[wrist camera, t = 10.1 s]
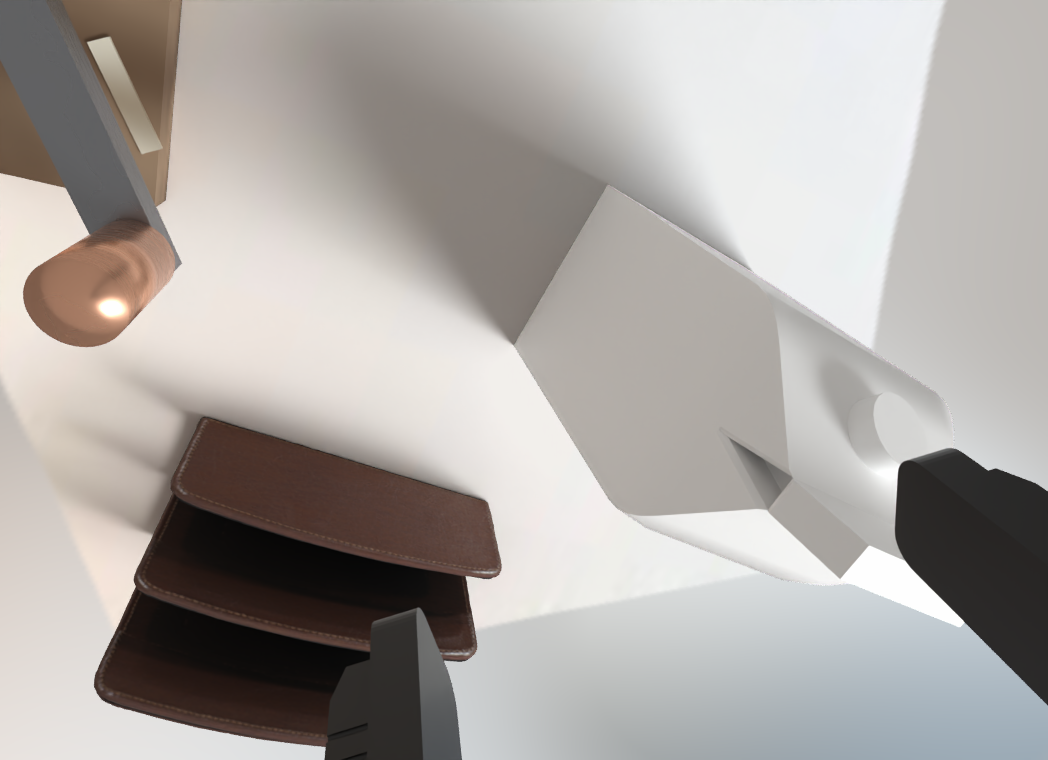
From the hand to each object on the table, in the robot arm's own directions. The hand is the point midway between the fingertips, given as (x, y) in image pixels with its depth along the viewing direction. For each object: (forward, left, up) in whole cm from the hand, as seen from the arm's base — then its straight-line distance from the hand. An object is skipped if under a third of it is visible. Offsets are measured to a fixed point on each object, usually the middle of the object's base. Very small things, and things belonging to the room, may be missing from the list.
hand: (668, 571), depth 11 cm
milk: (+4, +13, -32) cm, 34 cm away
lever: (-2, -17, -24) cm, 30 cm away
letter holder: (+23, -4, -32) cm, 40 cm away
